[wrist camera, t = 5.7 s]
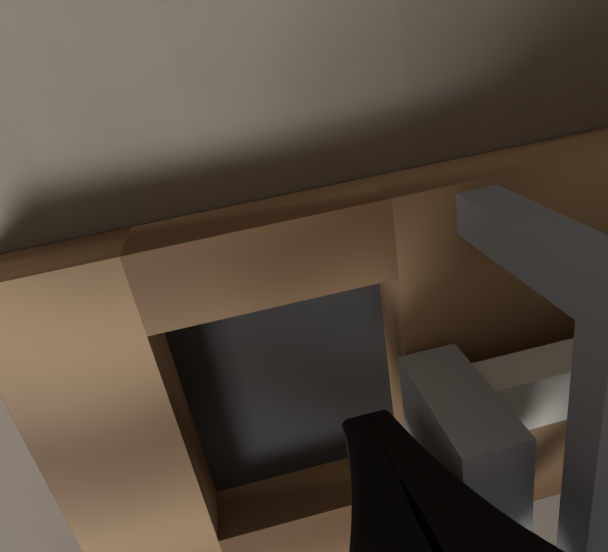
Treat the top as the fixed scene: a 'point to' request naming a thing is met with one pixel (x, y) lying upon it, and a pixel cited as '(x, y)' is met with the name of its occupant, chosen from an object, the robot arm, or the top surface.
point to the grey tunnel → (587, 334)
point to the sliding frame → (487, 415)
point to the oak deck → (265, 347)
